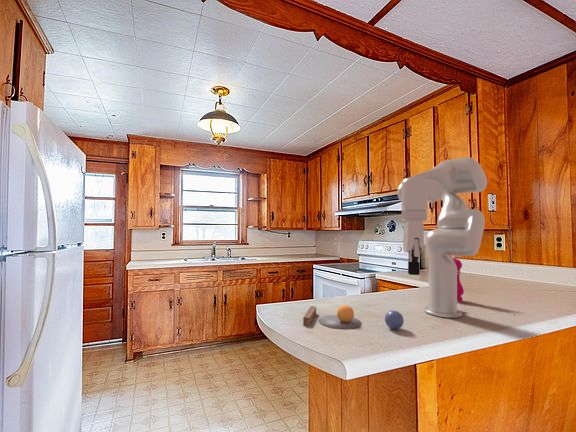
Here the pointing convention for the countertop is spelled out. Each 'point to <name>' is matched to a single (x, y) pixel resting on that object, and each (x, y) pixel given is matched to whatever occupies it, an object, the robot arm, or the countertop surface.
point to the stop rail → (309, 316)
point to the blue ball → (394, 319)
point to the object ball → (345, 313)
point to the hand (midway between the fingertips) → (413, 274)
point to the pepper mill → (458, 279)
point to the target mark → (338, 322)
